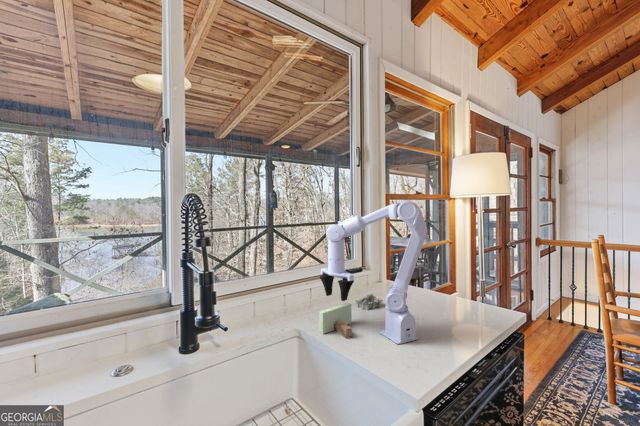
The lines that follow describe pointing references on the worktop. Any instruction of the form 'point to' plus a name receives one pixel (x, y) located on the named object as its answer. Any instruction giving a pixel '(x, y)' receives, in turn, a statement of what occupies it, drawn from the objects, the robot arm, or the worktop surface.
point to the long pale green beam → (334, 317)
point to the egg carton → (368, 302)
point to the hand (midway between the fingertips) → (336, 297)
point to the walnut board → (343, 329)
